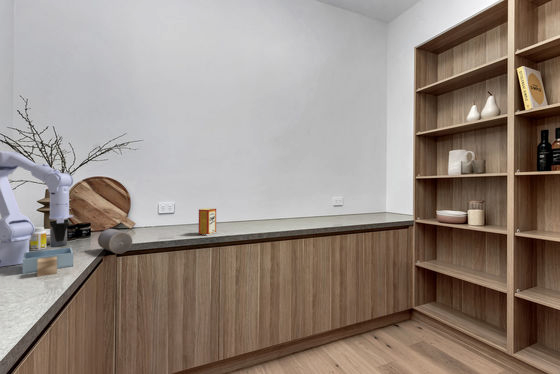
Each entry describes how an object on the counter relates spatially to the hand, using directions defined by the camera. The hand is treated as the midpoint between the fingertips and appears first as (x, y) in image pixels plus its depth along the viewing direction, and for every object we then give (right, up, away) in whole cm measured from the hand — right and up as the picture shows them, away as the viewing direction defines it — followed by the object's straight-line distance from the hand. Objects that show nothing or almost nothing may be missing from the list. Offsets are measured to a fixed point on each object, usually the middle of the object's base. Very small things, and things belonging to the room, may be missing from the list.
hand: (59, 240), depth 103 cm
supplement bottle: (-29, -9, +23) cm, 38 cm away
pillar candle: (+3, -4, +25) cm, 26 cm away
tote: (-2, -9, -2) cm, 10 cm away
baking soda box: (+39, -9, +66) cm, 77 cm away
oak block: (+4, -10, -10) cm, 14 cm away
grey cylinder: (0, -2, 0) cm, 2 cm away
